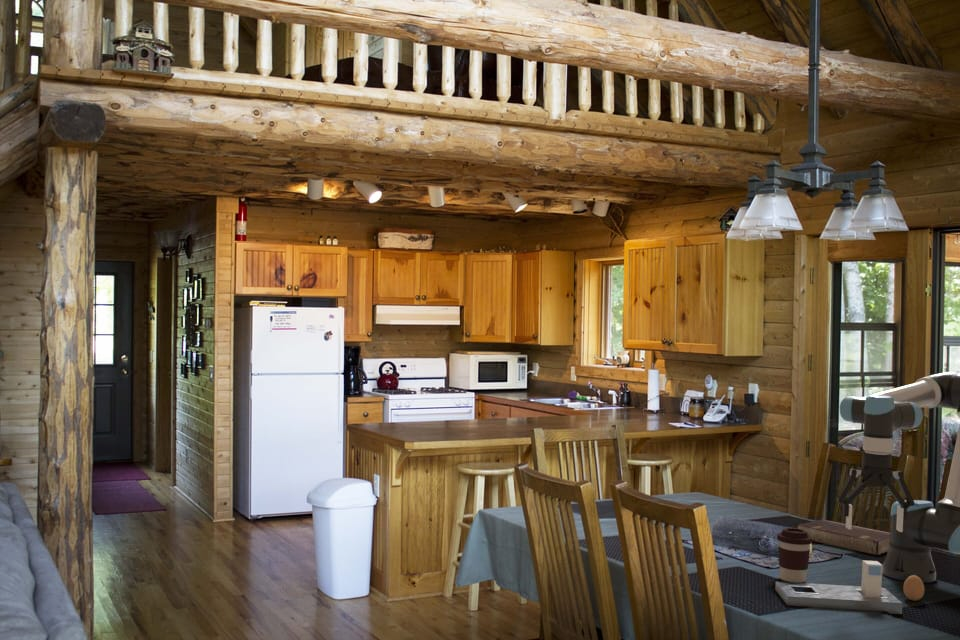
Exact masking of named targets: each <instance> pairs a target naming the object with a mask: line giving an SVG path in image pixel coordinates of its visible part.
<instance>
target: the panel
mask: <svg viewBox="0 0 960 640" xmlns="http://www.w3.org/2000/svg"><path fill="white" fill-rule="evenodd" d="M774 590H775V591H776V593H777V594H778V595H779V597H780V598H781V599H782V600H783V602H784V603H785V604H786V606H793V607H794V606H795V607H810V608H828V609H841V610H842V609H844V610H845V609H846V610H861V611H878V612H886V613H888V614H890V615H891V614H892V615H893V614H895V615H902V614H903V602H902V601H901V600H900V599H898V598H897V597H896V596H895V595H894V594H893V593H891V592H890V591H889V590H887V588H885V587H881V597H873V596H863V595H862V594H861V586H859V585H845V584H844V585H843V584H840V585H839V584H826V583H825V584H824V583H809V582H807V583H806V582H789V581H775V589H774Z"/></svg>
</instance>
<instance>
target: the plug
mask: <svg viewBox="0 0 960 640" xmlns="http://www.w3.org/2000/svg"><path fill="white" fill-rule="evenodd" d="M882 566H883V563H880V562H879V561H878V560H863V559H862V564H861V567H862V568H861V583H860V584H861V594H862V595H863V596H873V597H881V588H882V580H883V577H882V576H883V573H882Z"/></svg>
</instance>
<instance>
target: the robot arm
mask: <svg viewBox="0 0 960 640" xmlns="http://www.w3.org/2000/svg"><path fill="white" fill-rule="evenodd" d="M922 408H925V409H933V408H944V409H953V410H956V415H957V417H958V418H959V419H960V371H958V370H957V371H956V370H955V371H954V370H953V371H951V370H950V371H944V372H939V373H936V374H931V375H927V376H924V377H920V378H918V379H916V380H915V382H914V383H910V384H906V385H903V386H899V387H895V388H892V389H891V388H890V389H887V390H884V391H879V392H876V393H873V394H869V395H865V396H856V395H853V396H852V395H851V396H850V395H848V396H845V397H844V398H843V399H842V400H841V401H840V404H839V415H840V417H841V418H842V420H844V421H845V422H849V423H850V422H851V423H853V424H860V425H863V437H862V438H863V439H862V450H863V452H862V453H861V454H862V457H861V469H855V468H852V467H851V468H849V470H848V471H849V472H848V476H847V478H846V480H845V482H844V483H843V485H842V487H841V489H840V490H839V492H838V494H837V495H836V497H835V500H836V501H837V502H838V503H841V504H842V515H843V517H845V524H846V528H847V529H851V527H852V525H853V523H852V522H853V521H852V520H853V519H852V518H853V505H852V504H851V503H852V502H853V501H854V500H855V499H856V498H857V497H858V496H859V495H860V494H861V493H862V492H863V491H864V490H865V489H866V488H867V487H872V488H873V487H874V488H875V487H879V488H884V487H886V489H887V490H888V491H889V492H890V494H891V495H892V496H893V498H894V499H895V500H896V501H895V502H893V503H892V505H891V509H890V523H889V524H890V528H889V533H890V546H889V550H888V552H886V556H885V558H884V560H883V563H882V575H884V576H886V577H887V578H888V577H889V578H891V579H894V580H899V581H903V582H905V581H906V579H907V578H908V577H909V576H912V575H916V576H918V577H919V578H920V579H921V580H922V582H923V584H925V583H932V582H935V581H936V580H937V571H936V567H935V563H934V561H933V556H932V553H931V552H932V549H935V550H939V551H944V552H948V553H951V554H953V555H960V425H959V427H958V431H957V436H956V441H955V445H954V449H953V455H952V458H951V459H952V461H951V465H950V469H949V470H950V471H949V473H948V474H949V475H948V479H947V484H946V489H945V494H944V497H943V498H942V499H940V500H939V501H938V502H937V503H936V508H935V505H934V504H933V502H932V501H930V500H921V499H920V500H919V499H916V500H915V499H913V496H912V494H911V492H910V489H909V487H908V485H907V483H906V482H905V477H904V475H905V474H904V472H903V471H901V470H896V471H893V470H892V468H893V467H892V466H893V464H892V463H893V455H892V454H891V453H893V443H894V441H893V438H894V430H911V429H915V428H917V427H919V426H920V425H921V424H922V422H923V418H924V416H923V415H924V413H923V410H922ZM859 475H860V477H861V478H862V479H861V480H859V482H858V483H857V485H855V487H854V488H853V489H852V490H851V491H850V489H851V488H852V485H853V484H854V483H855V481H856V478H858V477H859ZM893 477H894V479H895V480H896V481H897V484H898V486H899V488H900V490H901V493H902V494H903V496H904V498H903V497H902V496H901V494H900V493H899V492H898V490H897V489H896V488H895V487H894V485H893V484H892V482H891V481H890V480H891V479H892V478H893ZM849 491H850V492H849Z"/></svg>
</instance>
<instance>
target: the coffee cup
mask: <svg viewBox="0 0 960 640" xmlns="http://www.w3.org/2000/svg"><path fill="white" fill-rule="evenodd" d="M776 539H777V541H778V566H779V579H781V580H782V581H784V582H794V583H806V581H807V571H808V568H809V564H810V553H811V549H810V548H811V547H810V545H812V543H813V541H812V537H811V536H809V535H808V533H807V531H805V530H802V529H798V527H795V528H794V527H785V528H783V529H782V531H780V532H778V533H777V534H776Z"/></svg>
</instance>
